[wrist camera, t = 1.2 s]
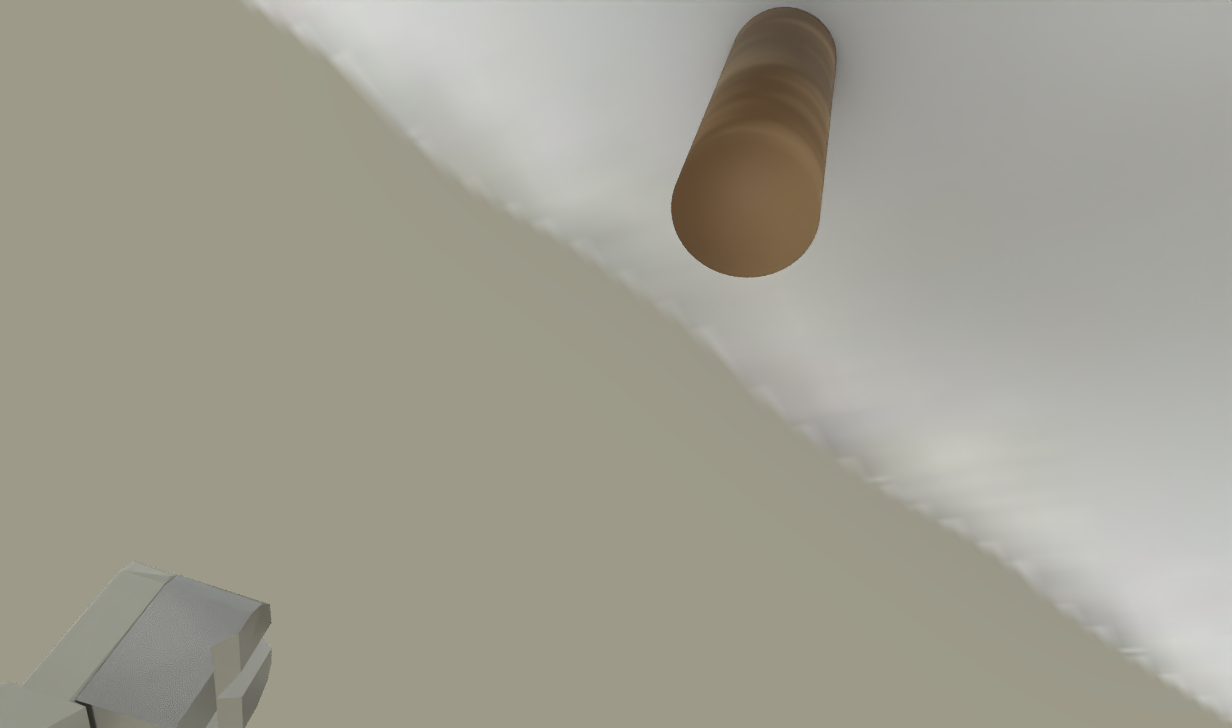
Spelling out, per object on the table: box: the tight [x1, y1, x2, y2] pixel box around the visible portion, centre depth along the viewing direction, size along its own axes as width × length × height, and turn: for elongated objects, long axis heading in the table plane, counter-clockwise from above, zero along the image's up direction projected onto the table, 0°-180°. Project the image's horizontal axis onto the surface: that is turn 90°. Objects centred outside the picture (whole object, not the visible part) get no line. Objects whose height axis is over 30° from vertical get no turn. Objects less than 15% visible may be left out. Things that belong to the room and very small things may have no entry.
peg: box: [671, 7, 836, 278], centre depth 28 cm, size 4×4×12 cm
